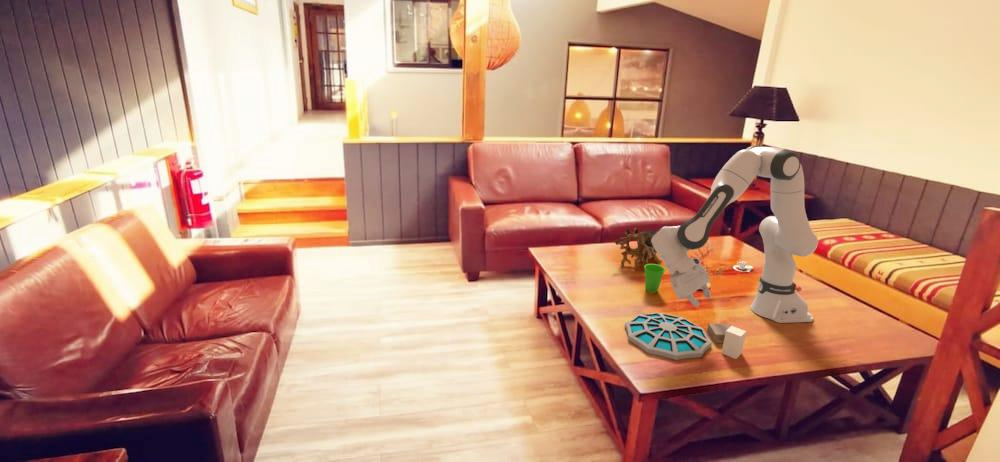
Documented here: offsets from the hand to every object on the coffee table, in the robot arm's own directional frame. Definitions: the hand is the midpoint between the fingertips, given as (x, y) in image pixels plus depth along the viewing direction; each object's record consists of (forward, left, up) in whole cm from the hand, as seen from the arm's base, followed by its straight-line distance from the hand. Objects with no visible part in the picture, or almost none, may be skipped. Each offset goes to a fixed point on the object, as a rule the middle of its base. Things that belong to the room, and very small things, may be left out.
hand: (703, 301), depth 173 cm
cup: (+8, -40, -16) cm, 44 cm away
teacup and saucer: (-44, -69, -16) cm, 83 cm away
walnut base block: (-10, -3, -16) cm, 18 cm away
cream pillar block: (-10, +8, -16) cm, 20 cm away
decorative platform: (+11, 0, -16) cm, 19 cm away
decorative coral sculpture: (+10, -73, -16) cm, 75 cm away
